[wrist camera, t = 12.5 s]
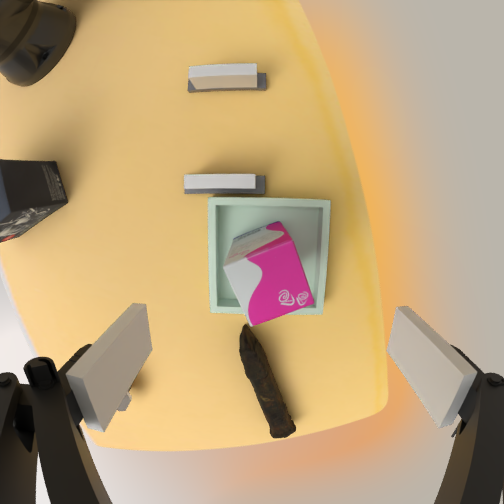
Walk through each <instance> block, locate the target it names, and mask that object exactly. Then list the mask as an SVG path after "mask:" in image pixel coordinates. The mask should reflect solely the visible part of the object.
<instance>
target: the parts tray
mask: <svg viewBox="0 0 504 504" xmlns="http://www.w3.org/2000/svg"><path fill="white" fill-rule="evenodd" d="M330 206H331V200H326V199H306V198H276V197H208V262H209V297H210V313H234V314H244V312H243V310H242V308H241V306H240V304H239V302H238V299H237V297H236V295H235V293H234V291H233V289H232V287H231V284H230V282H229V280H228V278H227V276H226V274H225V271H224V269H223V265H224V262H225V260H226V257H227V255H228V252H229V250H230V247H231V245H232V242H233V239H234V238H236V237H238V236H241V235H243V234H245V233H248V232H250V231H253V230H255V229H258V228H261V227H263V226H266V225H268V224H271V223H274V222H277V221H280V222H281V223H282V225H283V226H284V228H285V229H286V230H287V232H288V233H289V235H290V237H291V238H292V239H293V241H294V244H295V247H296V249H297V252H298V255H299V258H300V261H301V264H302V267H303V269H304V272H305V275H306V278H307V281H308V284H309V287H310V290H311V293H312V296H313V299H314V304H312V305H309V306H306V307H304V308H301V309H299V310H296V311H293V312H291V313H288V314H285V315H314V314H323V305H324V295H325V284H326V273H327V260H328V245H329V228H330Z"/></svg>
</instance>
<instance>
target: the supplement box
mask: <svg viewBox="0 0 504 504" xmlns="http://www.w3.org/2000/svg"><path fill="white" fill-rule="evenodd" d="M223 269H224V271H225V274H226V276H227V278H228V280H229V282H230V284H231V287H232V289H233V291H234V293H235V295H236V297H237V299H238V302H239V304H240V306H241V308H242V310H243V312H244V314H245V316H246V318H247V320H248V323H249V325H250V326H254V325H258V324H260V323H263V322H266V321H269V320H271V319H274V318H277V317H280V316H282V315H285V314H288V313H291V312H293V311H296V310H299V309H301V308H304V307H306V306H309V305H312V304H314V299H313V296H312V293H311V290H310V287H309V284H308V281H307V278H306V275H305V272H304V269H303V267H302V264H301V261H300V258H299V255H298V252H297V249H296V247H295V244H294V241H293V239H292V238H291V237H290V235H289V233H288V232H287V230H286V229H285V228H284V226H283V225H282V223H281V222H280V221H277V222H274V223H271V224H268V225H266V226H263V227H261V228H258V229H255V230H253V231H250V232H248V233H245V234H243V235H241V236H238V237H236V238H234V239H233V242H232V245H231V247H230V250H229V252H228V255H227V257H226V260H225V262H224V265H223Z"/></svg>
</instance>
